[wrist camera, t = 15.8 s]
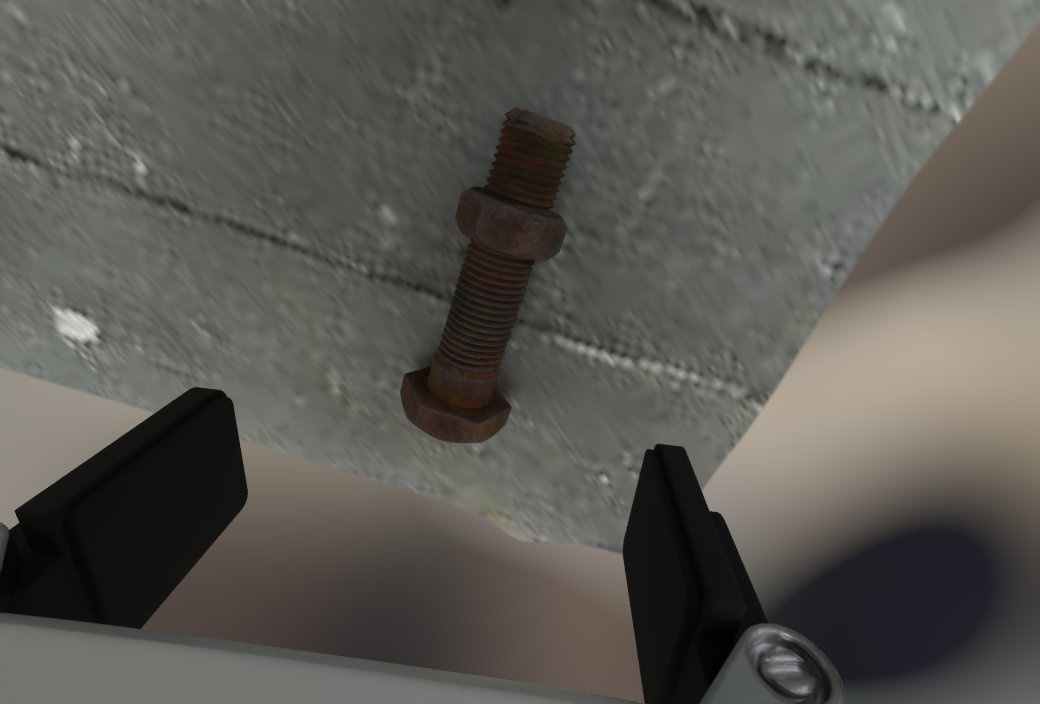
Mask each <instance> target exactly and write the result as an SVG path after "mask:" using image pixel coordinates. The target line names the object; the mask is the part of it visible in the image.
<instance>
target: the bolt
mask: <svg viewBox="0 0 1040 704" xmlns="http://www.w3.org/2000/svg"><path fill="white" fill-rule="evenodd" d="M505 115H506V117H507V118H508V120H506V121H504V122H503V124H504V126H505V127H506V128H504V129H501V132H502V135H503V137H500V138H499V141H500V143H501V145H498V146H496V148H497V150H498V152H499V153H497V154H493V155H494V157H495V158H496V160H497V161H494V162H492V165H493V167H494V169H491V170H489V172H490V174H491V175H492V177H489V178H487V180H488V182H489V184H488V185H486V186H485V188H482V187H471V188H470V189H468V190H466V191H464V192H463V193H461V197H460V201H459V205H458V209H457V212H456V216H455V218H456V221H457V224H458V227H459V229H460V231H461V232H462V233H463V234H464V235H465V236H467V237H468V238H470V240H471V241H472V243H469V244H468V247H469V248H470V249H469V250H467V251H466V254H467V255H468V256H467V257H465V258H464V261H465V262H466V263H464V264H462V268H463V269H464V270H461V271H460V275H461V277H459V278H458V281H459V283H458V284H457V285H456V288H457V290H455V291H454V294H455V296H454V297H453V302H452V305H451V307H452V308H451V309H450V312H449V313H450V314H449V315H448V319H447V320H448V321H446V325H445V326H446V327H445V328H444V331H443V334H442V340H441V341H440V345H439V348H438V351H437V352H436V353H435V356H434V359H433V363H432V366H430V367H427V368H423V369H420V370H416V371H413V372H410V373H406V374H405V375H404V379H403V383H402V387H401V391H400V393H401V400H402V404H403V408H404V411H405V414H406V416H407V418H408V419H409V421H410V422H412V423H413V424H414V425H416V426H417V427H418V428H420V429H421V430H422V431H424V432H425V433H427V434H429V435H430V436H432V437H434V438H436V439H439V440H442V441H446V442H453V443H479V442H483V441H485V440H487V439H489V438H491V437H492V436H493V435H495V434H496V433H497V432H498V431H499V430H500V429H501V428H502V427H503V426H504V425H505V424H506V422H507V419H508V416H509V414H510V411H511V406H510V405H509V403H508V402H507V401H506V399H505V398H504V396H503V395H502V394H501V392H500V391H499V389H498V388H497V387H496V385H495V384H496V381H497V378H498V375H499V370H498V369H499V366H500V364H501V360H502V358H503V354H504V352H505V348H506V346H507V342H508V341H509V336H510V335H511V330H512V328H513V326H514V325H513V324H514V322H515V320H516V319H515V318H516V317H517V314H518V313H517V311H519V305H520V304H521V302H522V301H521V299H522V298H523V297H524V294H523V293H524V292H525V291H526V287H525V286H526V285H527V284H528V280H527V279H528V278H530V274H529V272H531V271H532V267H531V266H532V265H534V264H535V261H534V260H537V261H542V260H547V259H549V258H551V257H553V256H554V255H556V254H557V253H559V251H560V248H561V246H562V243H563V240H564V237H565V234H566V232H567V228H566V226H565V223H564V221H563V219H562V217H561V216H560V215H558V214H556V213H554V212H553V211H551V210H550V208H552V207H554V204H553V203H552V201H554V200H556V199H557V197H556V196H555V195H554V194H555V193H557V192H559V189H558V188H557V186H558V185H560V184H562V182H561V181H560V178H561V177H563V176H565V175H564V174H563V172H562V170H564V169H566V168H568V167H567V166H566V164H565V162H567V161H569V160H570V158H569V156H568V155H567V154H570V153H572V152H573V150H572V149H571V147H570V146H573V145H575V144H576V143H575V141H574V140H573V137H574V136H575V133H574V131H573V130H572V129H571V127H568V126H566V125H563V124H561V123H558V122H556V121H553V120H550V119H548V118H545V117H543V116H540V115H537V114H535V113H532V112H529V111H526V110H525V111H523V110H521V109H518V108H514V109H513V110H511V111H509V112H507V113H505Z"/></svg>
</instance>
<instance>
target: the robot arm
mask: <svg viewBox="0 0 1040 704" xmlns="http://www.w3.org/2000/svg"><path fill="white" fill-rule="evenodd" d="M247 495H248V489H247V483H246V478H245V472H244V465H243V459H242V454H241V448H240V442H239V436H238V430H237V424H236V418H235V412H234V406H233V402H232V400H231V399H230V398H228V397H227V396H226V394H225V393H224V392H223V391H221V390H215V389H207V388H199V387H194V388H191V389H189V390H188V391H186V392H185V393H184V394H182V395H181V396H179V397H178V398H176V399H175V400H173V401H172V402H171V403H169V404H168V405H166V406H165V407H163V408H162V409H160V410H159V411H158V412H156V413H155V414H153V415H152V416H150V417H149V418H147V419H146V420H145V421H143V422H142V423H140V424H139V425H137V426H136V427H135V428H133V429H132V430H130V431H129V432H127V433H126V434H124V435H123V436H121V437H120V438H119V439H117V440H116V441H114V442H113V443H112V444H110V445H108V446H107V447H106V448H104V449H103V450H101V451H100V452H99V453H97V454H95V455H94V456H93V457H92V458H90V459H88V460H87V461H86V462H84V463H82V464H81V465H80V466H78V467H77V468H75V469H74V470H72V471H71V472H69V473H68V474H67V475H65V476H64V477H62V478H61V479H59V480H58V481H56V482H55V483H54V484H52V485H51V486H49V487H48V488H46V489H45V490H43V491H42V492H41V493H39V494H38V495H36V496H35V497H33V498H32V499H30V500H29V501H28V502H26V503H25V504H23V505H22V506H20V507H19V508H17V509H16V510H15V513H16V516H17V518H18V520H19V523H18V524H17V525H16V526H14V527H13V528H11V529H10V530H9V529H8V528H7V527H6V526H5V525H4V524H3V523H0V704H643V703H638V702H633V701H629V700H624V699H619V698H615V697H610V696H604V695H598V694H592V693H586V692H579V691H574V690H568V689H561V688H555V687H549V686H543V685H537V684H530V683H524V682H518V681H511V680H504V679H497V678H490V677H483V676H476V675H469V674H462V673H455V672H448V671H442V670H434V669H427V668H420V667H414V666H407V665H400V664H393V663H386V662H379V661H371V660H364V659H357V658H350V657H342V656H335V655H328V654H321V653H313V652H306V651H299V650H292V649H284V648H277V647H270V646H262V645H255V644H248V643H241V642H233V641H226V640H218V639H211V638H203V637H196V636H188V635H181V634H172V633H165V632H158V631H149V630H143V629H141V628H142V627H143V625H144V624H145V623H146V622H147V621H148V620H149V618H150V617H151V616H152V615H153V614H154V612H155V611H156V610H157V609H158V608H159V607H160V605H161V604H162V603H163V602H164V601H165V599H166V598H167V597H168V596H169V595H170V594H171V592H172V591H173V590H174V589H175V588H176V586H177V585H178V584H179V583H180V582H181V581H182V579H183V578H184V577H185V576H186V575H187V573H188V572H189V571H190V570H191V569H192V568H193V566H194V565H195V564H196V563H197V562H198V560H199V559H200V558H201V557H202V556H203V555H204V553H205V552H206V551H207V550H208V549H209V547H210V546H211V545H212V544H213V543H214V542H215V540H216V539H217V538H218V537H219V536H220V534H221V533H222V532H223V531H224V530H225V528H226V527H227V526H228V525H229V524H230V523H231V521H232V520H233V519H234V518H235V517H236V516H237V514H238V513H239V512H240V511H241V510H242V508H243V507H244V505H245V503H246V500H247ZM623 559H624V566H625V573H626V580H627V586H628V593H629V600H630V607H631V613H632V620H633V627H634V633H635V640H636V647H637V654H638V660H639V667H640V674H641V681H642V687H643V694H644V701H645V704H843V700H844V689H843V685H842V682H841V679H840V676H839V674H838V673H837V671H836V669H835V667H834V666H833V664H832V663H831V661H830V660H829V659H828V658H827V657H826V656H825V654H824V653H823V652H822V651H821V650H820V649H819V648H818V647H817V646H816V645H814V644H813V643H812V642H810V641H809V640H807V638H805V637H804V636H802V635H800V634H798V633H797V632H794V631H793V630H791V629H789V628H786V627H783V626H779V625H776V624H769V623H768V621H767V619H766V617H765V614H764V612H763V609H762V607H761V605H760V602H759V600H758V598H757V595H756V593H755V591H754V588H753V586H752V584H751V581H750V579H749V576H748V574H747V572H746V569H745V567H744V565H743V562H742V560H741V558H740V555H739V553H738V550H737V548H736V546H735V543H734V541H733V539H732V536H731V534H730V532H729V529H728V527H727V524H726V522H725V520H724V518H723V517H722V515H721V514H719V513H718V512H712V511H709V509H708V506H707V504H706V501H705V499H704V496H703V493H702V491H701V488H700V486H699V483H698V481H697V478H696V476H695V473H694V471H693V468H692V466H691V463H690V460H689V458H688V455H687V453H686V450H685V449H684V447H680V446H672V445H664V444H657V445H656V446H655V448H654V450H650V449H647V450H646V452H645V455H644V459H643V464H642V468H641V472H640V476H639V480H638V484H637V488H636V492H635V496H634V500H633V505H632V509H631V513H630V517H629V521H628V525H627V529H626V533H625V537H624V543H623Z"/></svg>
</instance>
